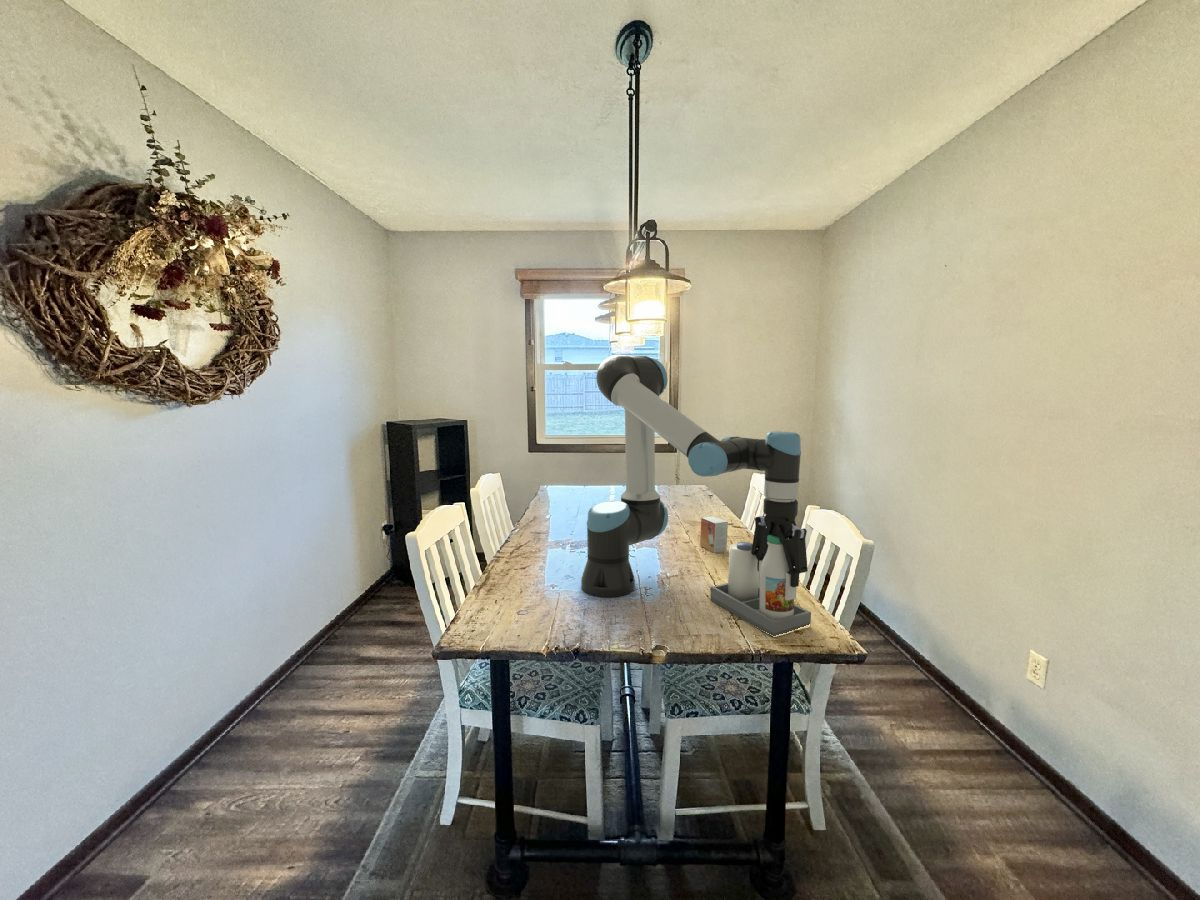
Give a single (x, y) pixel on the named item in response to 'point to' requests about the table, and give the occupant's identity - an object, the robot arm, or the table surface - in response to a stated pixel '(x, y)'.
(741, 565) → the twin bottle
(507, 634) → the table surface
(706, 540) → the small box
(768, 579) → the milk bottle
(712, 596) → the tray
